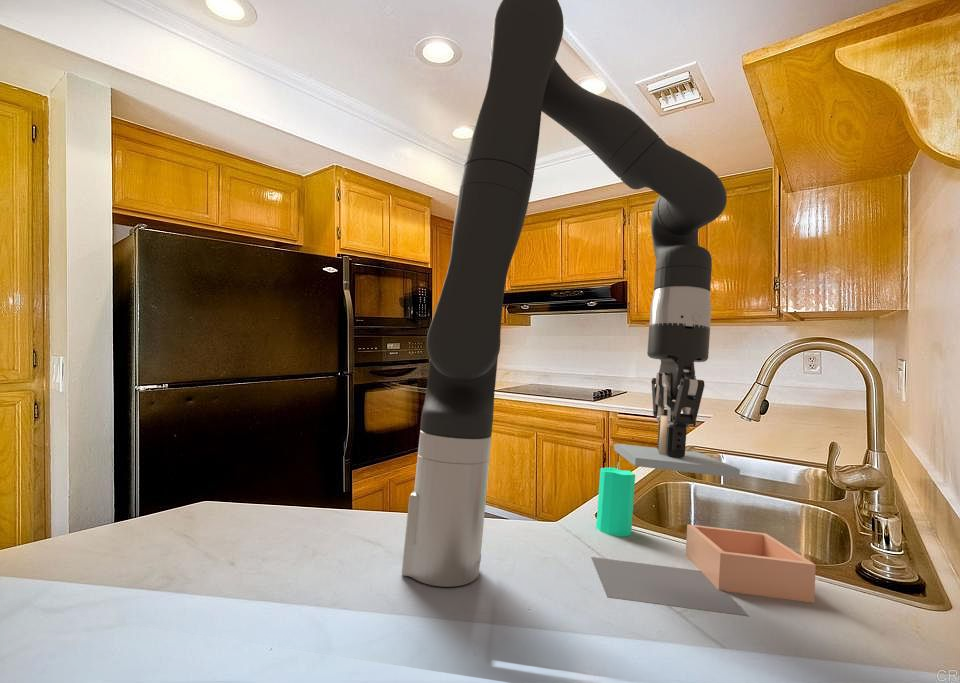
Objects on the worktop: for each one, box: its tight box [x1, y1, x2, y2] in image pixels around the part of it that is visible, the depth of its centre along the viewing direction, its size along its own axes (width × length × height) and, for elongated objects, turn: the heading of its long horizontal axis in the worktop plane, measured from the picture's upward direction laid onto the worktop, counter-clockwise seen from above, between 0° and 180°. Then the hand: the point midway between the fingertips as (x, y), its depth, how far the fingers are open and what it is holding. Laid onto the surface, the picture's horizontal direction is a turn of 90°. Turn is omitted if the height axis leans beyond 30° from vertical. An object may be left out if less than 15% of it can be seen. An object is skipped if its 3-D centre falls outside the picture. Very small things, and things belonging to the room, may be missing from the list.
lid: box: [613, 415, 741, 479], centre depth 60 cm, size 12×12×6 cm
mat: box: [591, 556, 750, 617], centre depth 59 cm, size 16×12×1 cm
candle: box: [595, 461, 636, 537], centre depth 79 cm, size 6×6×12 cm
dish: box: [685, 524, 817, 604], centre depth 64 cm, size 12×12×5 cm
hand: (670, 453), depth 60 cm, fingers closed on lid, 3 cm apart
